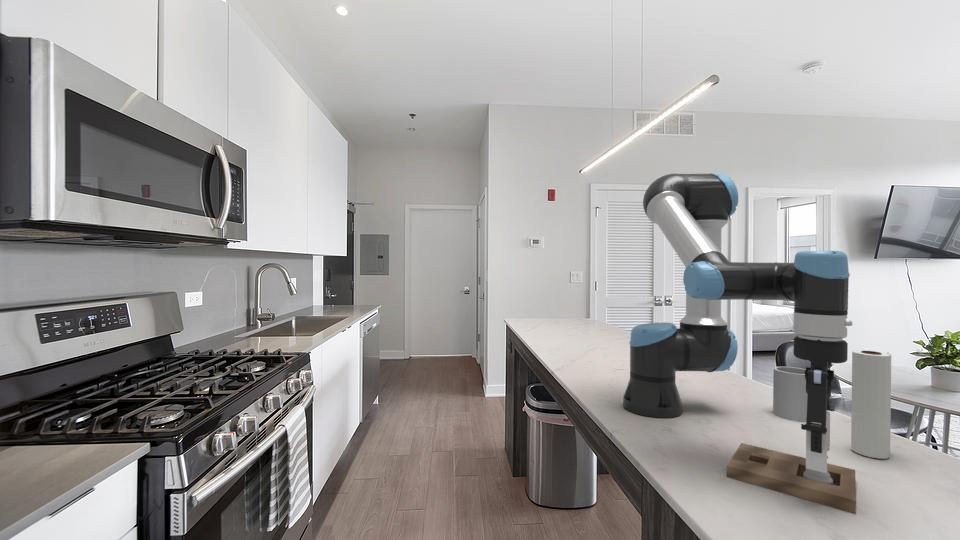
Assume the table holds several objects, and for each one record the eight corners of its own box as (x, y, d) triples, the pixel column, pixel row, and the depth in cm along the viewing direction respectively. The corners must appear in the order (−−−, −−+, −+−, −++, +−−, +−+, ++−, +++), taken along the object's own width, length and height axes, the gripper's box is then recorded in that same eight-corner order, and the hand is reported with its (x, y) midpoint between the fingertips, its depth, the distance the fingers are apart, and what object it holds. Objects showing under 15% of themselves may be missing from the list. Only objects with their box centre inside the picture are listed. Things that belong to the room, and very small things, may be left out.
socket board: (726, 476, 79) (726, 465, 79) (741, 452, 90) (741, 442, 90) (855, 513, 68) (856, 500, 68) (855, 480, 78) (855, 469, 78)
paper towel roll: (859, 457, 88) (860, 353, 88) (845, 445, 94) (846, 348, 94) (903, 462, 86) (905, 356, 86) (887, 450, 91) (888, 351, 91)
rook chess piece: (840, 493, 74) (840, 447, 74) (810, 491, 74) (811, 445, 74) (824, 481, 78) (824, 437, 78) (796, 478, 79) (797, 435, 79)
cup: (818, 424, 107) (818, 376, 107) (774, 417, 112) (774, 371, 112) (813, 414, 115) (813, 369, 115) (772, 408, 119) (772, 365, 119)
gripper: (847, 349, 64) (845, 491, 64) (848, 332, 83) (846, 441, 83) (786, 343, 69) (784, 474, 69) (799, 328, 88) (798, 431, 88)
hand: (818, 456), depth 76 cm, fingers open, 13 cm apart
